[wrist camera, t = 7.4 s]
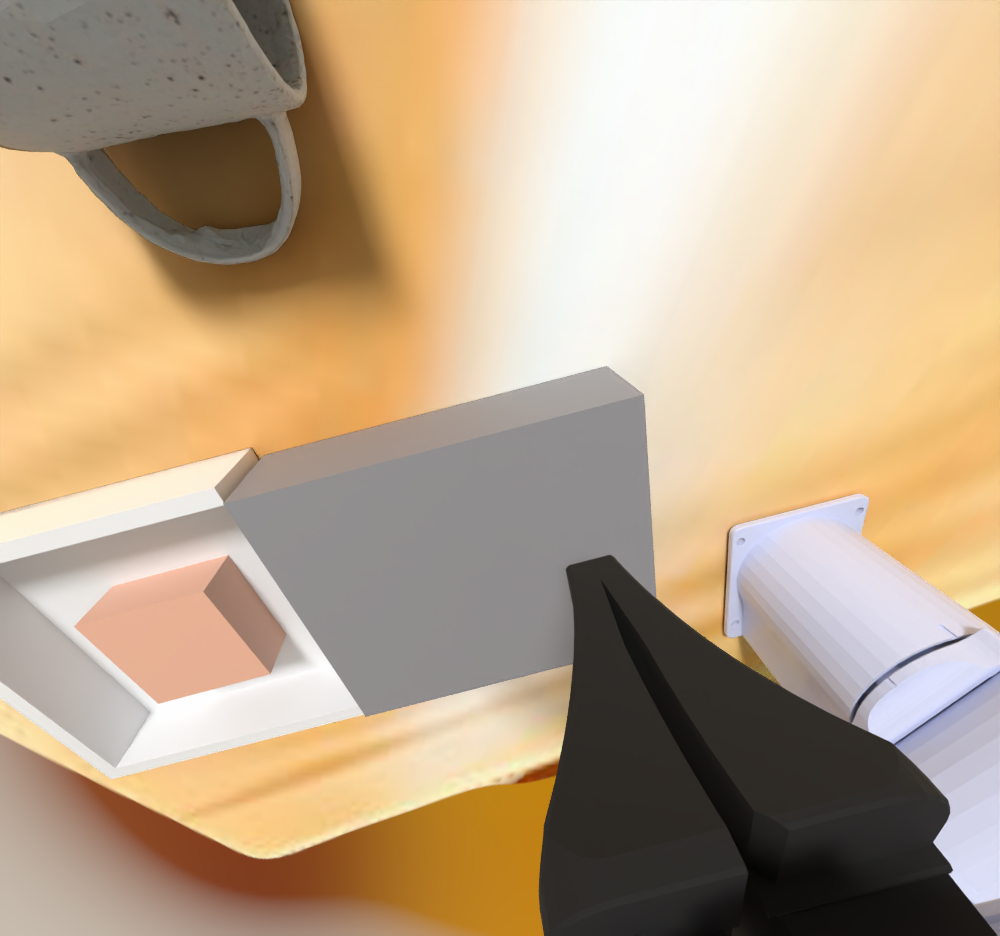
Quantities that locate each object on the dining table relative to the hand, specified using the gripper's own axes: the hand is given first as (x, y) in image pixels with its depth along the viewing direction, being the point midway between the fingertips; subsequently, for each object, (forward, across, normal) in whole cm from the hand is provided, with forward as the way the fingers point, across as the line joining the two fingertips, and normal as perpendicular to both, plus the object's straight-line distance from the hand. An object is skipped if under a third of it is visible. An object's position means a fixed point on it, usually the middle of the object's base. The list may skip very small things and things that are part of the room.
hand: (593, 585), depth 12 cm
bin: (+9, +20, +4) cm, 22 cm away
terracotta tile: (+6, +19, +4) cm, 20 cm away
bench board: (+9, +4, +4) cm, 11 cm away
